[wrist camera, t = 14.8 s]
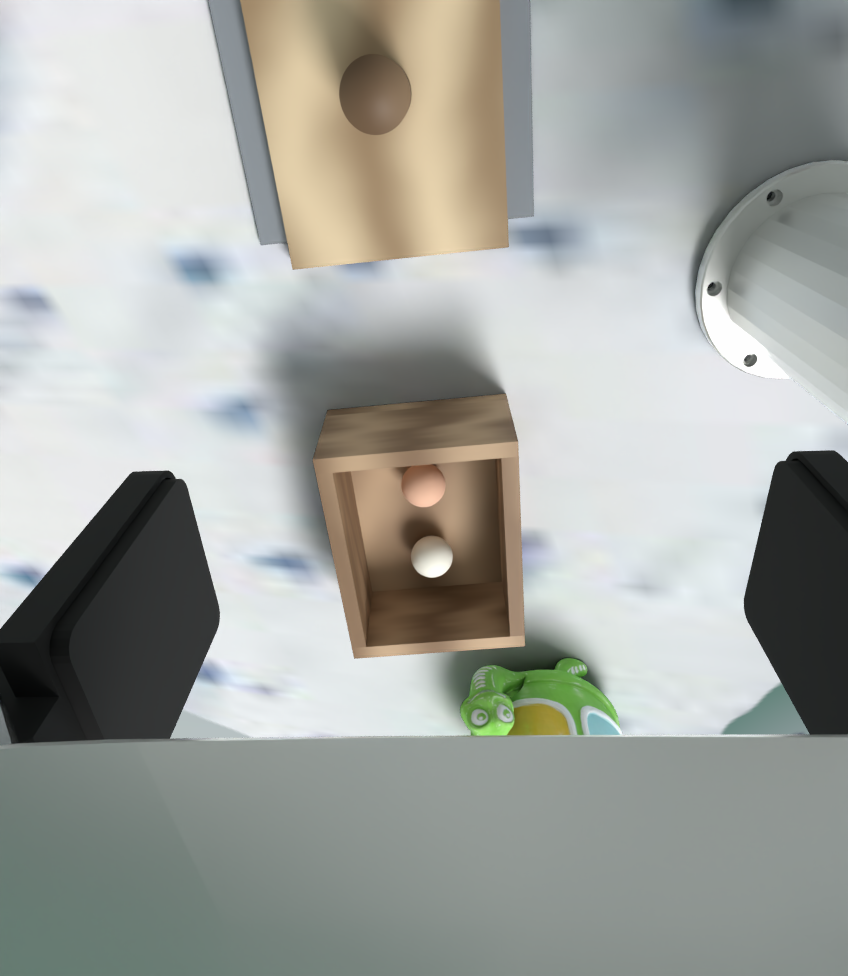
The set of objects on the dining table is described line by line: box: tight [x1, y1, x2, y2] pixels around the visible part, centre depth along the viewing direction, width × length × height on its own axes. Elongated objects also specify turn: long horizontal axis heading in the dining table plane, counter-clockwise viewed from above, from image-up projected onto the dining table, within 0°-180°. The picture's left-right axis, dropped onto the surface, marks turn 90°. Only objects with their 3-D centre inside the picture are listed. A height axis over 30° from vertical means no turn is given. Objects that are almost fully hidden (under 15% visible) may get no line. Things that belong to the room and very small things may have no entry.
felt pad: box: [208, 0, 534, 245], centre depth 36 cm, size 16×14×1 cm
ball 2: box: [411, 536, 453, 578], centre depth 49 cm, size 3×3×3 cm
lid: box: [240, 0, 509, 270], centre depth 34 cm, size 13×17×6 cm
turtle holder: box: [460, 658, 623, 736], centre depth 55 cm, size 12×18×12 cm
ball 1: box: [401, 464, 446, 507], centre depth 46 cm, size 3×3×3 cm
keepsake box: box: [313, 394, 525, 659], centre depth 47 cm, size 12×16×7 cm
